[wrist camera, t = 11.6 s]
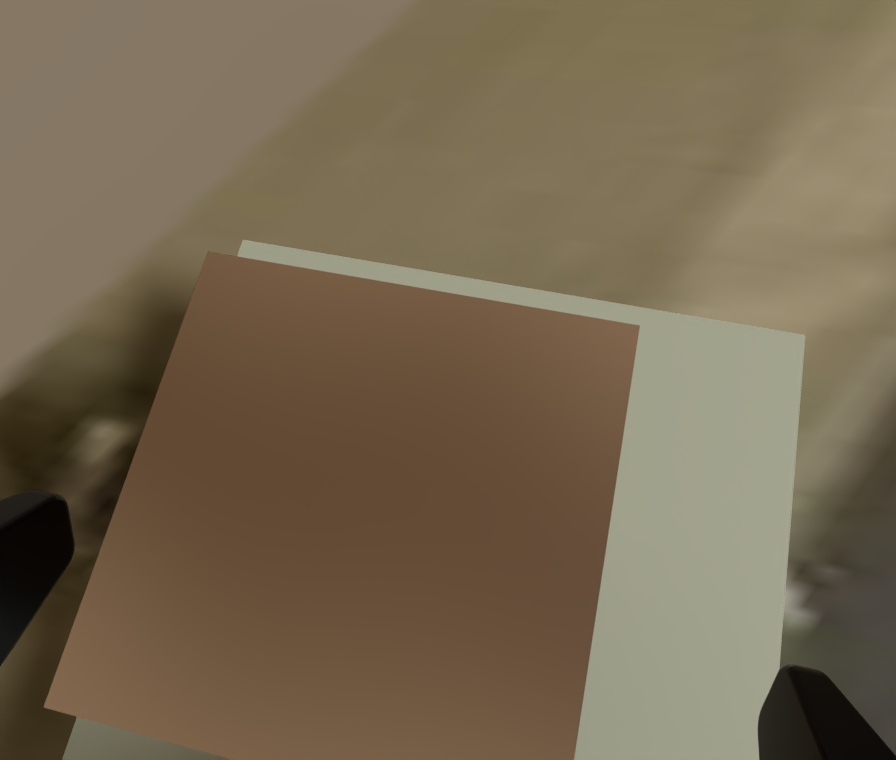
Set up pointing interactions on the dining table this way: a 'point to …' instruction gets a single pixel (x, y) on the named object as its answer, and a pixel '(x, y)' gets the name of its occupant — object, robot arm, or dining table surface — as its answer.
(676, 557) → the socket block
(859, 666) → the dining table surface
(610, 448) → the walnut peg
